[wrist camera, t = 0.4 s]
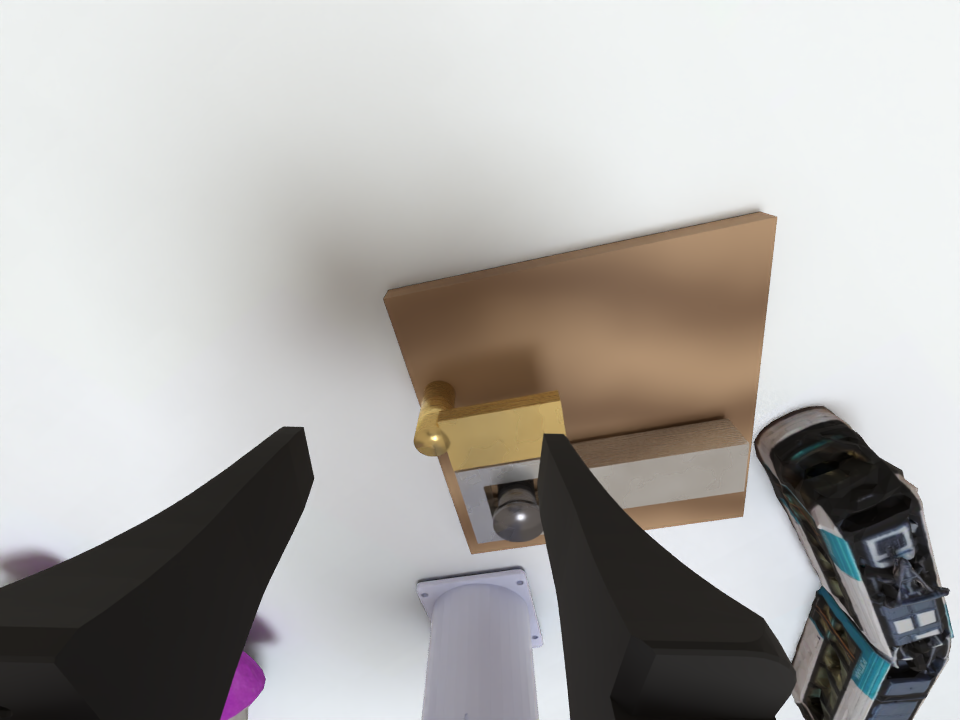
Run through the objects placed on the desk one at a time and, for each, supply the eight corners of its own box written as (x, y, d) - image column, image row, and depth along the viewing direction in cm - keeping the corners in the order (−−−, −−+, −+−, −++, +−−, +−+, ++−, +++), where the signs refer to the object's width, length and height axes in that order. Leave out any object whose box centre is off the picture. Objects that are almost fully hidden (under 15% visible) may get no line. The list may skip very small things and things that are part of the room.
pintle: (540, 484, 25) (549, 538, 22) (496, 491, 25) (498, 545, 22) (533, 450, 24) (541, 502, 20) (487, 457, 24) (488, 510, 21)
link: (478, 515, 26) (477, 543, 24) (456, 446, 23) (454, 473, 21) (723, 478, 24) (742, 506, 22) (729, 401, 22) (751, 425, 20)
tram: (896, 378, 23) (1043, 471, 17) (876, 671, 37) (951, 778, 31) (747, 420, 24) (832, 519, 18) (783, 685, 39) (837, 790, 33)
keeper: (555, 403, 22) (568, 452, 19) (434, 424, 23) (425, 475, 19) (548, 356, 21) (560, 400, 17) (419, 380, 21) (407, 427, 18)
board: (733, 501, 27) (743, 516, 26) (471, 538, 29) (471, 554, 28) (760, 211, 19) (777, 216, 18) (388, 290, 20) (383, 299, 19)
